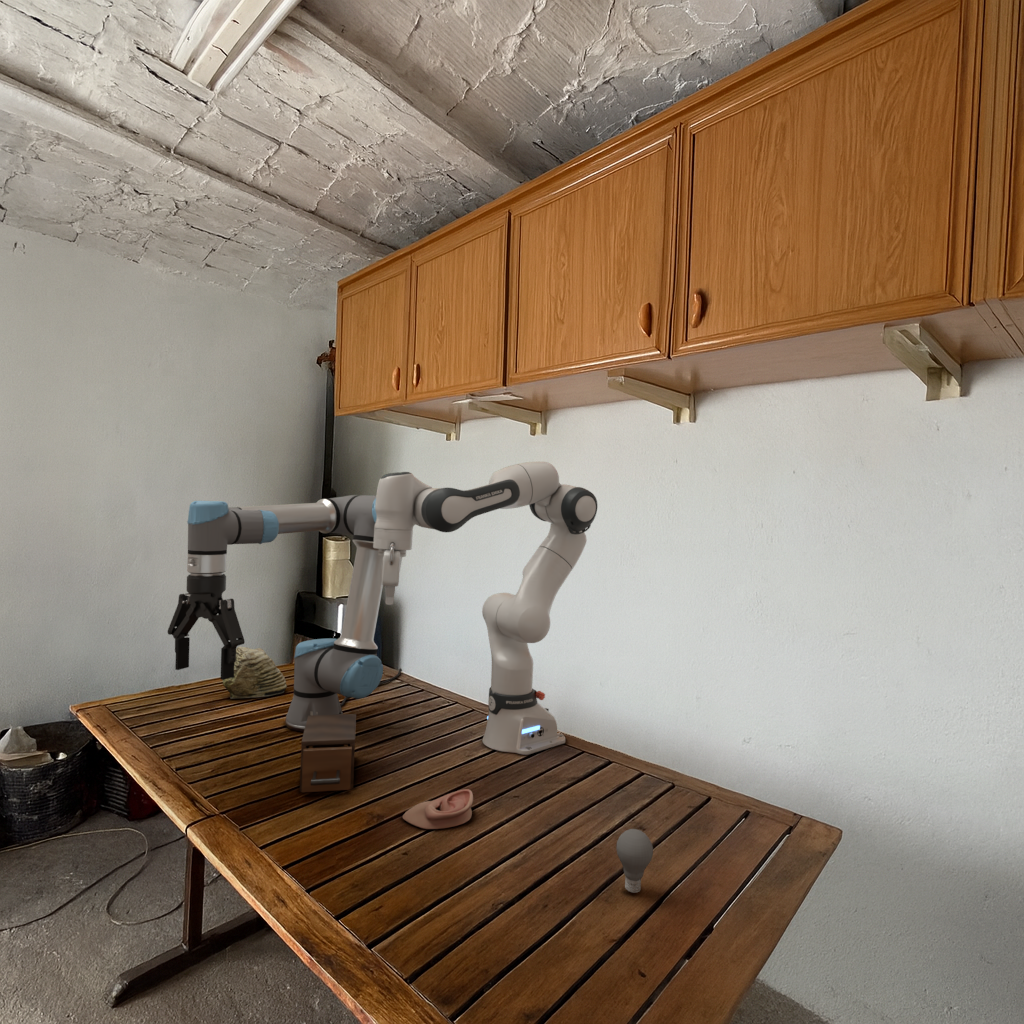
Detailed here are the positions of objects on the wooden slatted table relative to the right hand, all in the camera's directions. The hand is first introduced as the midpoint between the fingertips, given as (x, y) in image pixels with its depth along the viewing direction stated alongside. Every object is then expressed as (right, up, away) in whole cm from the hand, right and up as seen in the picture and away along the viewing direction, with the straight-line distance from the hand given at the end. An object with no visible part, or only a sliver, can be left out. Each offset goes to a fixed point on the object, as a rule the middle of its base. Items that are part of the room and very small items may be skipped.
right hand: (389, 600), depth 147 cm
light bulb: (+48, -43, -41) cm, 77 cm away
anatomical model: (+13, -41, -19) cm, 47 cm away
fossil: (-52, -37, +51) cm, 82 cm away
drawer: (-12, -38, -8) cm, 41 cm away
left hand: (-37, -14, -12) cm, 41 cm away
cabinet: (-14, -39, -2) cm, 42 cm away
